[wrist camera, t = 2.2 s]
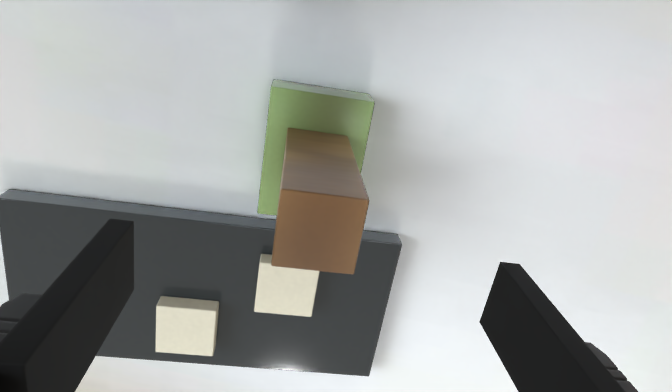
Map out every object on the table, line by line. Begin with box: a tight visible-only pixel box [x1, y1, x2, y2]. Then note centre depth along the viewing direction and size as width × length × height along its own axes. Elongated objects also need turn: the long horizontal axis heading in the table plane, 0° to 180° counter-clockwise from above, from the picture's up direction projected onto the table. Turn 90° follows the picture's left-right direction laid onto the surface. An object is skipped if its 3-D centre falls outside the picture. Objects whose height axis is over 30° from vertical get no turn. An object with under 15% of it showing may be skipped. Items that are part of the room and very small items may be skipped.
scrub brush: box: [257, 79, 374, 274], centre depth 24 cm, size 6×8×12 cm
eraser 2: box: [254, 254, 319, 317], centre depth 31 cm, size 4×4×1 cm
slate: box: [0, 189, 402, 376], centre depth 33 cm, size 26×12×2 cm, turn 81°
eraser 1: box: [155, 296, 219, 356], centre depth 32 cm, size 4×4×1 cm
